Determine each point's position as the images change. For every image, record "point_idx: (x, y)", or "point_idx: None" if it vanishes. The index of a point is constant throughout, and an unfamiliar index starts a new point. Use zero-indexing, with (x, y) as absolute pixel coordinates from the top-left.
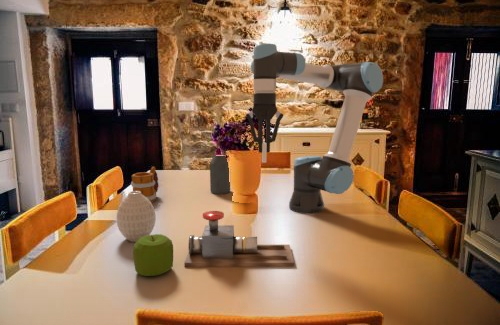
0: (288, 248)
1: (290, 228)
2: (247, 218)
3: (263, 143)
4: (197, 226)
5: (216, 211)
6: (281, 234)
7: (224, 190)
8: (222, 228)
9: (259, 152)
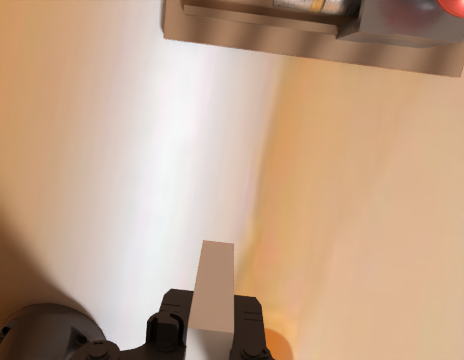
0: (171, 8)
1: (135, 191)
2: (254, 287)
3: (216, 353)
4: (415, 240)
5: (460, 5)
6: (171, 147)
7: None
8: (405, 2)
9: (254, 298)
